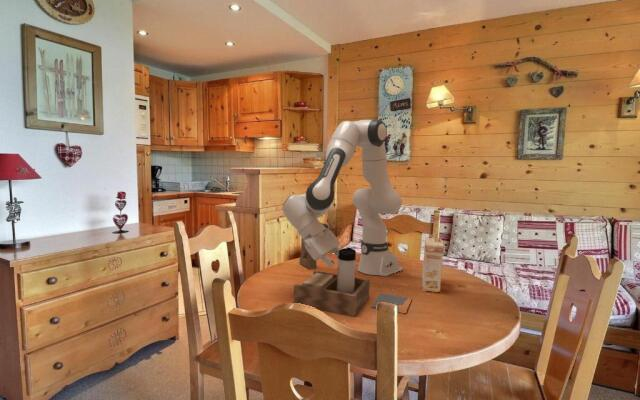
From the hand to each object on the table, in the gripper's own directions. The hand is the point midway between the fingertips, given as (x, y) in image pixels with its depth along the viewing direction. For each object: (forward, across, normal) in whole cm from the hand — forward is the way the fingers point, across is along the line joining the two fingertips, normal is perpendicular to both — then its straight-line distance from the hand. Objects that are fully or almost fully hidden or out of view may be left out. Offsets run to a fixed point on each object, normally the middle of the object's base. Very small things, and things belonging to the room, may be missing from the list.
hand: (337, 262), depth 131 cm
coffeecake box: (+32, +34, -11) cm, 48 cm away
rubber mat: (+24, +7, -4) cm, 26 cm away
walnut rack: (+10, 0, +11) cm, 15 cm away
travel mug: (+13, 0, +8) cm, 15 cm away
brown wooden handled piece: (-8, +35, +30) cm, 46 cm away
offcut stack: (+6, 0, +15) cm, 16 cm away
